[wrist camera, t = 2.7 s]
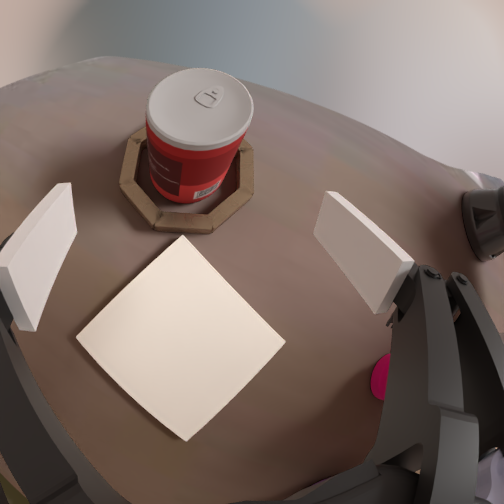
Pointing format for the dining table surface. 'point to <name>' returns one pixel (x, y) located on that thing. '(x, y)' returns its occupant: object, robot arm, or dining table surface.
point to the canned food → (195, 131)
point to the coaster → (180, 340)
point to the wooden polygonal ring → (184, 220)
